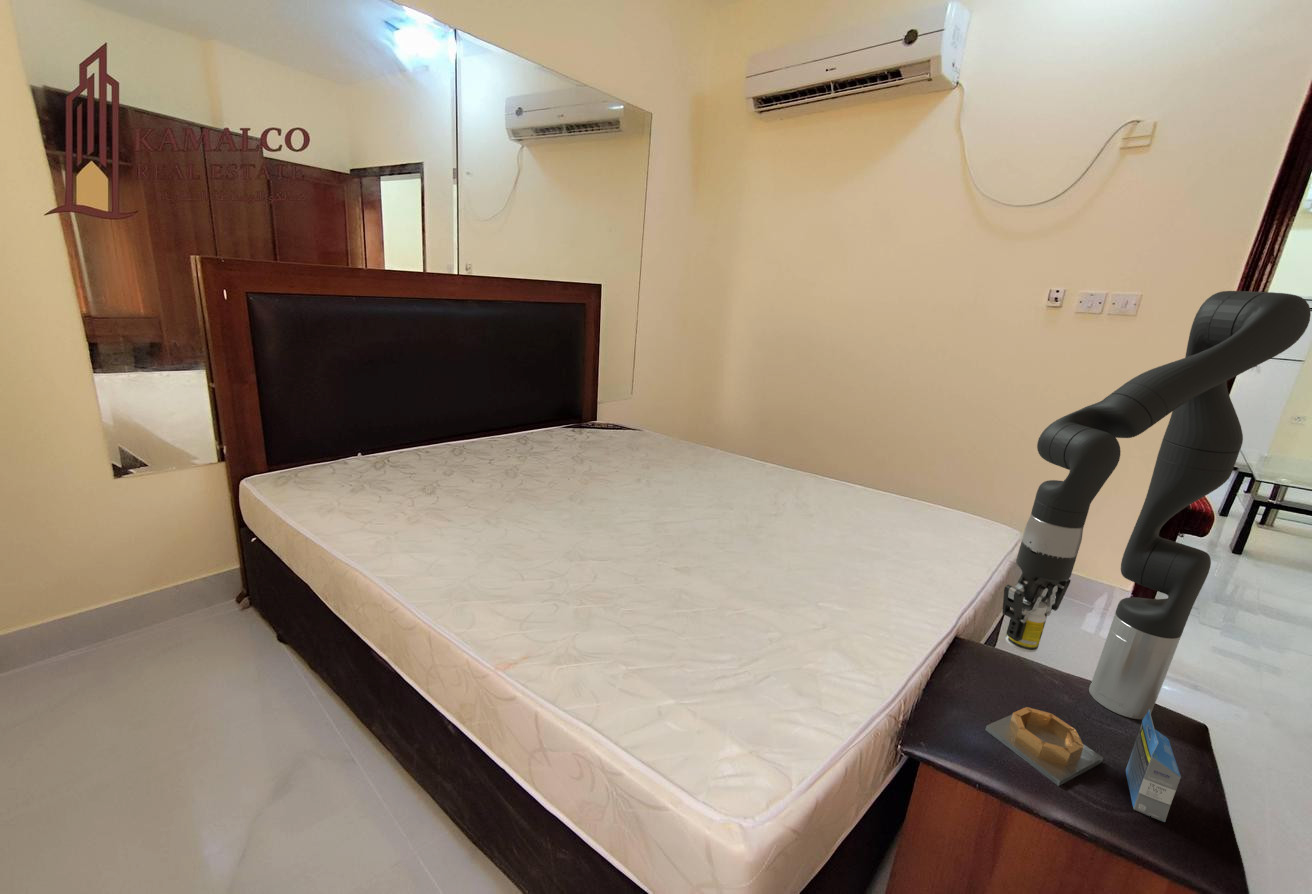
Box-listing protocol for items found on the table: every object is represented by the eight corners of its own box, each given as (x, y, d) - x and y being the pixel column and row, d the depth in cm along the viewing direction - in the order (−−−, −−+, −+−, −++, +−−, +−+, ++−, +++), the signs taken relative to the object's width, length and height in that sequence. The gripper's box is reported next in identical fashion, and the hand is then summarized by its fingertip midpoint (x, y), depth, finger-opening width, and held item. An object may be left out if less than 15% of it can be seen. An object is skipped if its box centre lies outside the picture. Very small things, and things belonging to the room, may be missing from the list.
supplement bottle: (1042, 655, 92) (1055, 611, 89) (1011, 650, 93) (1023, 606, 90) (1030, 638, 96) (1042, 596, 94) (1000, 633, 97) (1012, 591, 95)
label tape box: (1165, 824, 80) (1194, 756, 76) (1129, 808, 82) (1156, 742, 78) (1154, 782, 87) (1180, 718, 83) (1121, 769, 89) (1146, 706, 85)
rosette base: (1027, 711, 100) (1032, 695, 99) (1101, 762, 90) (1107, 745, 89) (985, 729, 95) (990, 713, 94) (1058, 786, 85) (1064, 768, 84)
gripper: (1053, 529, 95) (1028, 615, 100) (998, 540, 89) (975, 630, 94) (1101, 549, 89) (1072, 639, 93) (1045, 562, 83) (1017, 657, 88)
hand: (1023, 634), depth 94 cm, fingers closed on supplement bottle, 4 cm apart
